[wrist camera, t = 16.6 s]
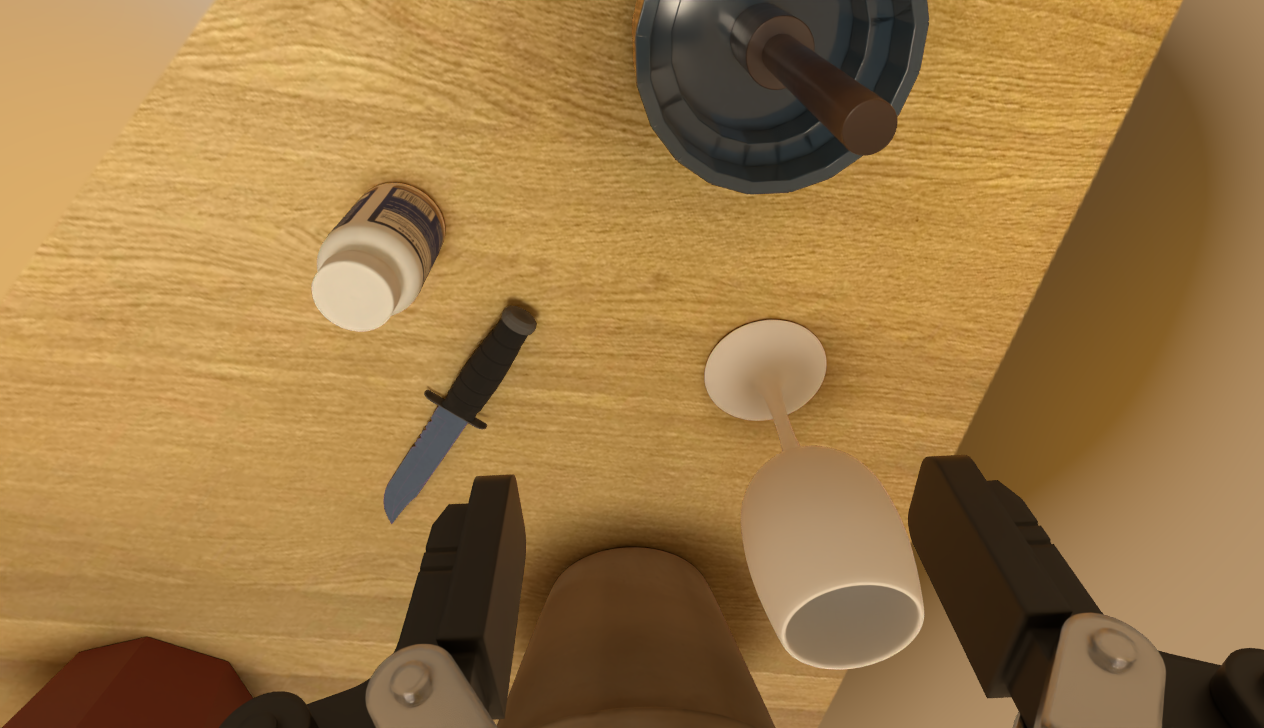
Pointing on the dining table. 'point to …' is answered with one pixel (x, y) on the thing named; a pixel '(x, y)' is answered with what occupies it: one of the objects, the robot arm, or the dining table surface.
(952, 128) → the dining table surface
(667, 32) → the bowl
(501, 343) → the knife
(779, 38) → the muddler
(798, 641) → the wineglass
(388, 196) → the pill bottle
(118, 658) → the bucket
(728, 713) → the flower pot
